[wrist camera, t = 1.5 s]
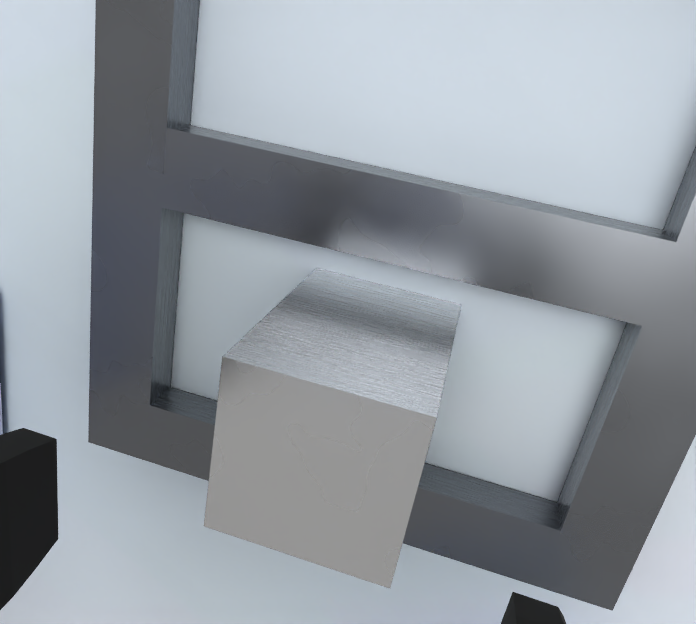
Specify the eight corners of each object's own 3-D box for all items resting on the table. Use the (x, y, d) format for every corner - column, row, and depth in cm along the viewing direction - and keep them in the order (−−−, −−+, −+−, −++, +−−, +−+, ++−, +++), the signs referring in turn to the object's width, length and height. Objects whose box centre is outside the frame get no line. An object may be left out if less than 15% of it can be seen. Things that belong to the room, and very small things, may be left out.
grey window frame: (605, 578, 18) (612, 610, 17) (111, 423, 20) (88, 442, 19) (1298, -946, 8) (1428, -1117, 7) (154, -875, 10) (112, -990, 9)
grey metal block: (427, 431, 17) (390, 588, 12) (295, 393, 18) (203, 526, 13) (461, 304, 16) (436, 417, 10) (317, 267, 17) (222, 356, 11)
